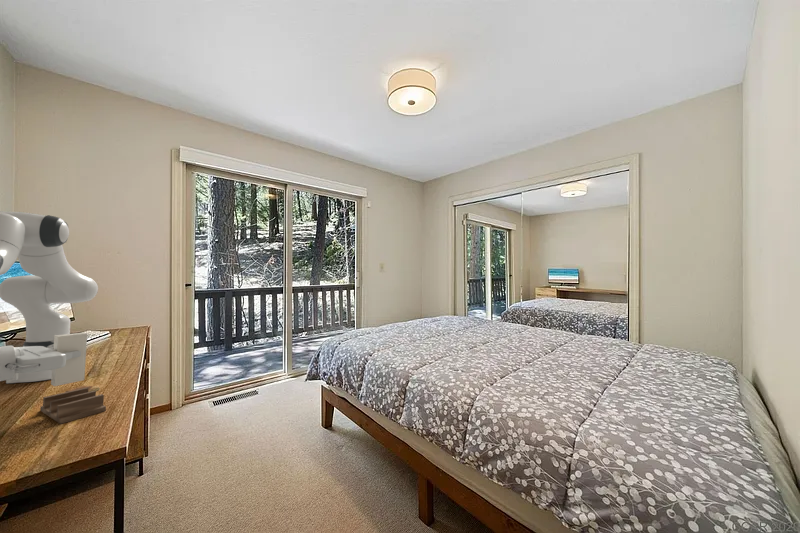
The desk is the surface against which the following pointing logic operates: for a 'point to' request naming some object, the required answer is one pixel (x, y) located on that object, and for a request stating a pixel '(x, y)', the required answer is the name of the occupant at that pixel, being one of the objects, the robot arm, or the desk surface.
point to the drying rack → (72, 405)
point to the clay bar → (73, 366)
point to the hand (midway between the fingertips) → (77, 352)
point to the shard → (90, 388)
